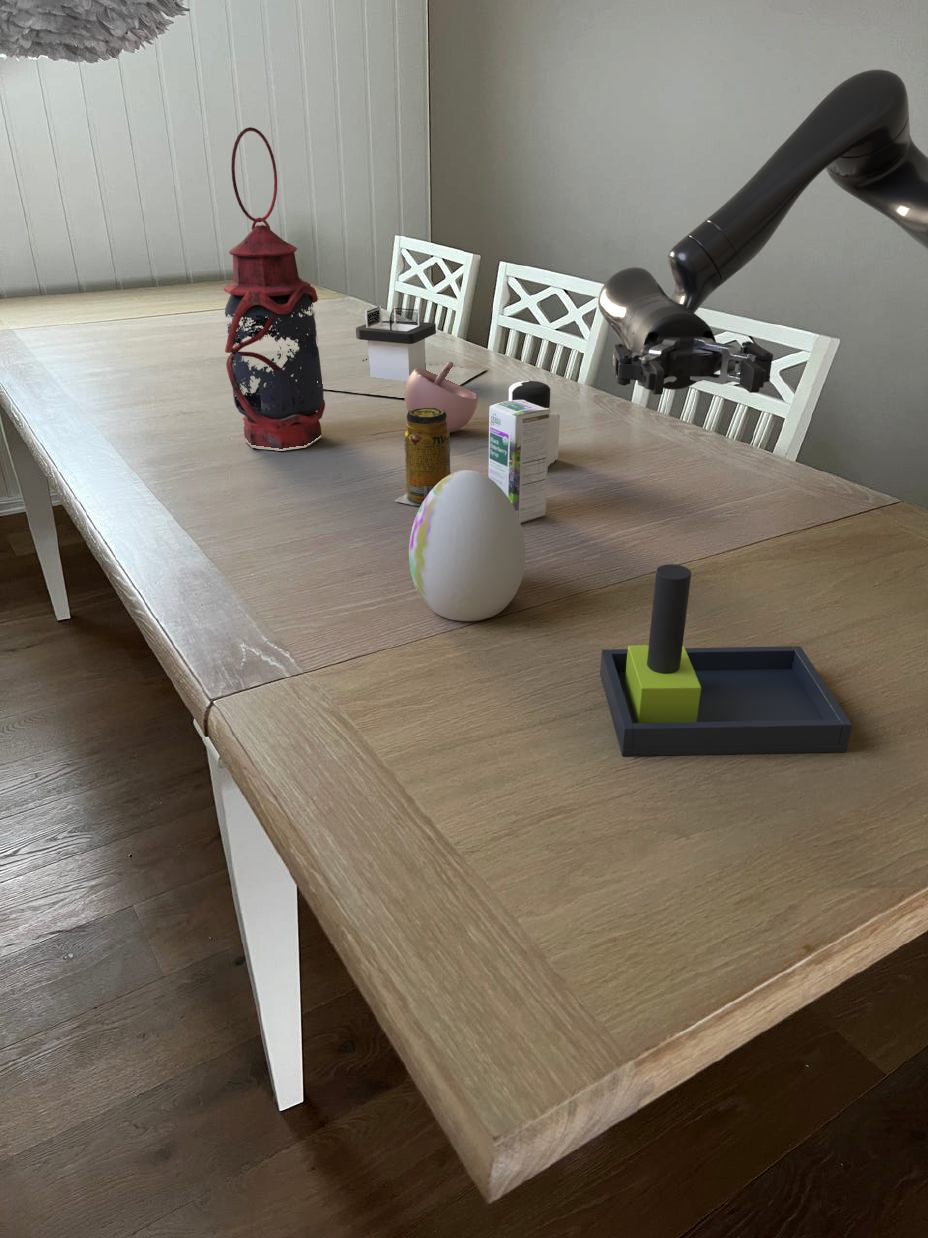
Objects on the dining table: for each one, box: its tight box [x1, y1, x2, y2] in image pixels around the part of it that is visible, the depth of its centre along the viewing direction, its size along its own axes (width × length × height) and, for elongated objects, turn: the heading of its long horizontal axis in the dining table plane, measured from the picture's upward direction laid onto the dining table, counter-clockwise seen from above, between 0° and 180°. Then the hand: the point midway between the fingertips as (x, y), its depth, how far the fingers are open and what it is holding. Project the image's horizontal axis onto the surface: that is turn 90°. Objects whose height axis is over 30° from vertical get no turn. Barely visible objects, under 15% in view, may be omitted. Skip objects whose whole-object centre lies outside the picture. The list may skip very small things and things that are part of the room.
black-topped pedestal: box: [355, 305, 437, 381], centre depth 181 cm, size 28×26×13 cm
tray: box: [599, 645, 853, 757], centre depth 81 cm, size 19×13×3 cm
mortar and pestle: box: [404, 361, 479, 434], centre depth 151 cm, size 12×12×12 cm
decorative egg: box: [408, 469, 526, 622], centre depth 96 cm, size 12×12×15 cm
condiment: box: [394, 407, 452, 507], centre depth 124 cm, size 7×8×12 cm
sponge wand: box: [625, 563, 701, 723], centre depth 78 cm, size 5×7×13 cm
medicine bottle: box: [508, 380, 561, 467], centre depth 137 cm, size 7×7×12 cm
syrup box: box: [487, 400, 551, 524], centre depth 118 cm, size 6×6×14 cm
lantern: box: [222, 126, 326, 449], centre depth 140 cm, size 16×15×45 cm
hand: (708, 382), depth 81 cm, fingers open, 8 cm apart
